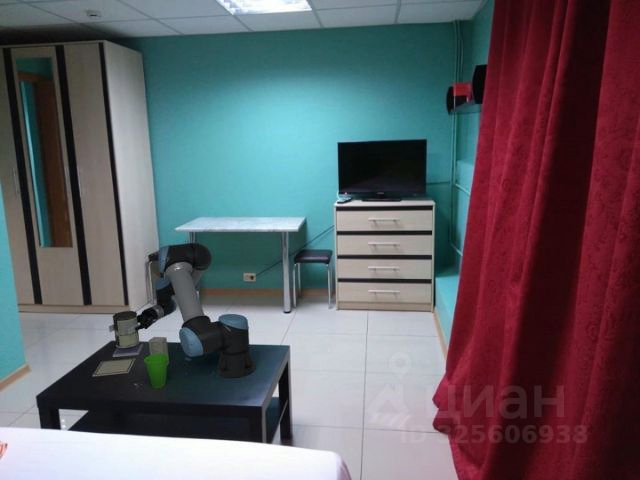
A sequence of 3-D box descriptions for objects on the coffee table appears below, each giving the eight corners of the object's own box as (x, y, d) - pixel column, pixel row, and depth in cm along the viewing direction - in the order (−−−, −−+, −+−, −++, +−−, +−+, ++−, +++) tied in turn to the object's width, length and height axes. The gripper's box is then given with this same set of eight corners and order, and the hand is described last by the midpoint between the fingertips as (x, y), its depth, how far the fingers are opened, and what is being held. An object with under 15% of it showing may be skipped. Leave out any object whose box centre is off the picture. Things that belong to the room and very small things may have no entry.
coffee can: (110, 346, 210) (107, 317, 207) (126, 338, 219) (123, 310, 217) (129, 349, 206) (126, 319, 204) (144, 340, 216) (141, 311, 214)
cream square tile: (128, 372, 191) (128, 371, 191) (92, 376, 188) (92, 375, 188) (135, 358, 204) (135, 358, 204) (101, 362, 202) (101, 361, 202)
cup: (141, 389, 176) (139, 362, 174) (153, 378, 185) (151, 353, 183) (164, 390, 175) (161, 363, 173) (174, 379, 184) (172, 353, 182)
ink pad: (138, 354, 209) (138, 352, 209) (112, 357, 207) (112, 354, 207) (143, 345, 220) (142, 343, 219) (118, 347, 218) (118, 345, 217)
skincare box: (169, 363, 198) (167, 337, 196) (164, 368, 194) (161, 341, 192) (156, 362, 200) (154, 336, 198) (150, 367, 195) (148, 340, 193)
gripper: (171, 323, 225) (140, 341, 204) (134, 319, 233) (100, 335, 212) (170, 309, 224) (138, 324, 203) (132, 305, 231) (98, 320, 211)
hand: (119, 330), depth 208 cm, fingers closed on coffee can, 10 cm apart
